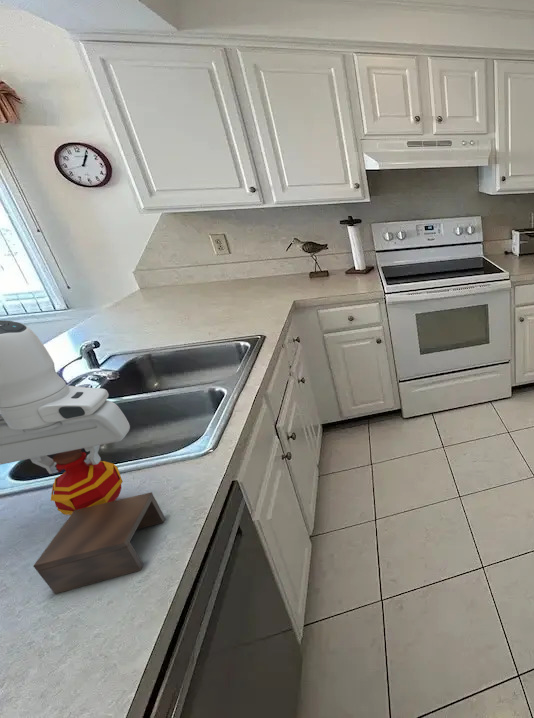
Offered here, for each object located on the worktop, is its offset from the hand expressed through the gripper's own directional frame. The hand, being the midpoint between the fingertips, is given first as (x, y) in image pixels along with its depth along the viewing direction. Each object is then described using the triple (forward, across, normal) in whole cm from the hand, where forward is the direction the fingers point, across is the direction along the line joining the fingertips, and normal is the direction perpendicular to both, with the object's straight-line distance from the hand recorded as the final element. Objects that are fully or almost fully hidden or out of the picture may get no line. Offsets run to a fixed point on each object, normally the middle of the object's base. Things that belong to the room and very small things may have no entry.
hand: (76, 467), depth 79 cm
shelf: (+12, +7, -13) cm, 19 cm away
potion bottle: (+12, 0, 0) cm, 12 cm away
